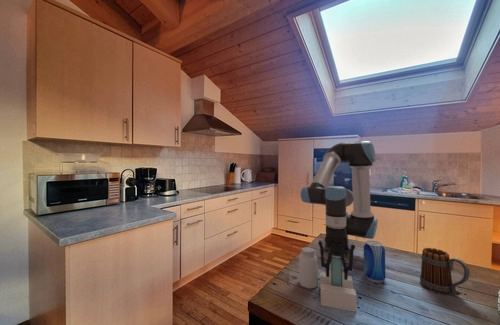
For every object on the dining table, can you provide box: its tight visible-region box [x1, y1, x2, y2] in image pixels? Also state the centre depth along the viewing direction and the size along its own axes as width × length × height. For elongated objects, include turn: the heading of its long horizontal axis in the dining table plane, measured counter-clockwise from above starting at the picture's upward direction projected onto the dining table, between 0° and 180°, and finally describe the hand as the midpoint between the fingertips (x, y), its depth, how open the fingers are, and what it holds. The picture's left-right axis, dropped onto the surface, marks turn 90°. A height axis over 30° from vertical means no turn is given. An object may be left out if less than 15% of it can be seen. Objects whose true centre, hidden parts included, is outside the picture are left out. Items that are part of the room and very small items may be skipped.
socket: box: [319, 271, 358, 313], centre depth 82 cm, size 13×12×6 cm
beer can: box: [363, 240, 386, 284], centre depth 95 cm, size 8×8×16 cm
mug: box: [419, 247, 471, 296], centre depth 86 cm, size 16×11×15 cm
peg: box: [330, 255, 343, 287], centre depth 81 cm, size 4×4×12 cm
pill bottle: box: [298, 246, 319, 289], centre depth 91 cm, size 8×8×15 cm
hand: (336, 286), depth 81 cm, fingers closed on peg, 4 cm apart
